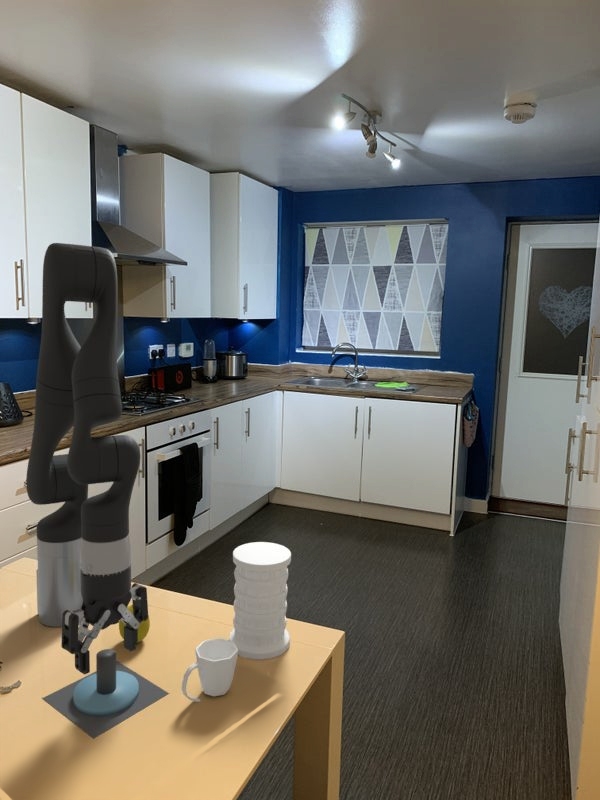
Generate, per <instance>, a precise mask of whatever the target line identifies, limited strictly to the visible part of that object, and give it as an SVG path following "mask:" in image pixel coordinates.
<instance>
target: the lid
mask: <svg viewBox="0 0 600 800" xmlns="http://www.w3.org/2000/svg"><path fill="white" fill-rule="evenodd" d="M95 657H96V662H95V663H96V664H95V665H96V670H95V672H96V674H93V675H91V676H88V675H87V676H88V677H87V678H85V679H83V680H82V681H81V682H80V683H79V684H78V685H77V686H76V687H75V689H74V692H73V703H74V706H75V708H76V709H77V710H78V711H80V712H81V713H83V714H86V715H91V716H106V715H111V714H115V713H118V712H121V711H123V710H125V709H126V708H128V707H129V706H131V705H132V704H133V703H134V702H135V700H136V699H137V697H138V693H139V684H138V681H137V679H136V678H135V677H134V676H133V675H131V674H129V673H126V672H122V671H116V661H117V652H116V650H114V649H113V648H112V649H111V648H104V649H101V650H99V651H98V652H97V653H96V656H95Z"/></svg>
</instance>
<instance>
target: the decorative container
mask: <svg viewBox="0 0 600 800" xmlns="http://www.w3.org/2000/svg"><path fill="white" fill-rule="evenodd" d="M232 562H233V563H234V565H235V568H234V572H233V575H234V580H235V584H234V587H233V593H234V601H233V610H234V616H233V618H232V624H233V629H232V630H230V633H229V635H228V636H229V637H228V640H229V641H233V642H234V643H235V645H236V647H237V649H238V654H237V656H238V657H239V656H240V657H241V658H245V659H247V660H248V659H249V660H255V661H256V660H257V661H259V660H260V661H261V660H269V659H274V658H278V657H279V656H281V655H282V654H283V655H284V653H286V651H288V649H289V648H290V643H291V642H290V641H291V635H290V633H289V632H288V630H287V629H286V626H287V624H288V623H287V622H288V621H287V617H286V613H287V611H288V602H287V595H288V590H289V589H288V584H287V581H288V579H289V568H288V566H289V565H290V564H291V562H292V552H291V551H290V549H289V548H288V547H286V546H284V545H283V544H279V543H275V542H267V541H256V542H248V543H244V544H241V545H238V546H237V547H236V548H234V550H233V551H232Z"/></svg>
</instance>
